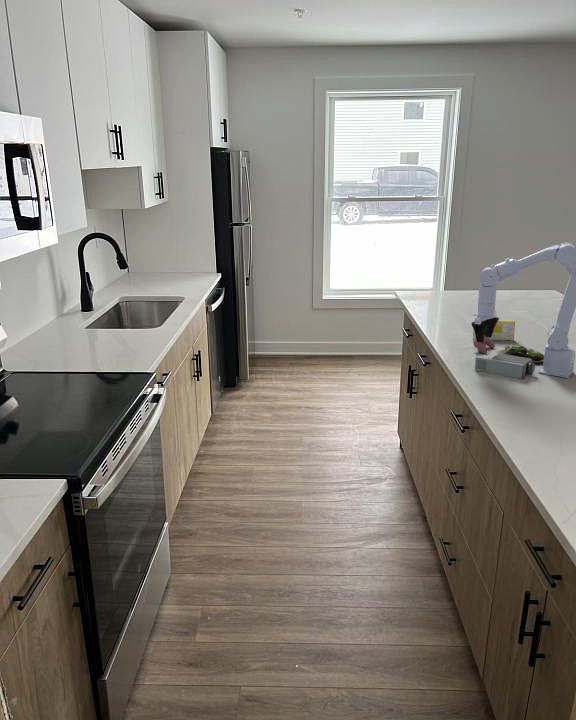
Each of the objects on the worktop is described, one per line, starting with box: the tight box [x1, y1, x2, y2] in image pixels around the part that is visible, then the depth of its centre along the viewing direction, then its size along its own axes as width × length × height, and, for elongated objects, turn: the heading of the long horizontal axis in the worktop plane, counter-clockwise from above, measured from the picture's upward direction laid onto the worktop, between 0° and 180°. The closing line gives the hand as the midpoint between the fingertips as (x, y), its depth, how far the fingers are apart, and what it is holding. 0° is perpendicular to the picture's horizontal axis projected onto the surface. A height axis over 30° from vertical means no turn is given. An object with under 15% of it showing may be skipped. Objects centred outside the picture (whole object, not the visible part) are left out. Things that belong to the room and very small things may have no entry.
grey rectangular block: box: [491, 353, 536, 378], centre depth 205 cm, size 13×7×5 cm, turn 51°
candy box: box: [472, 319, 516, 342], centre depth 243 cm, size 16×2×8 cm, turn 74°
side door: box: [474, 355, 526, 380], centre depth 203 cm, size 17×2×5 cm, turn 51°
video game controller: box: [472, 337, 496, 354], centre depth 231 cm, size 10×5×7 cm, turn 141°
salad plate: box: [496, 344, 545, 366], centre depth 221 cm, size 19×18×5 cm
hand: (484, 339), depth 211 cm, fingers open, 7 cm apart
